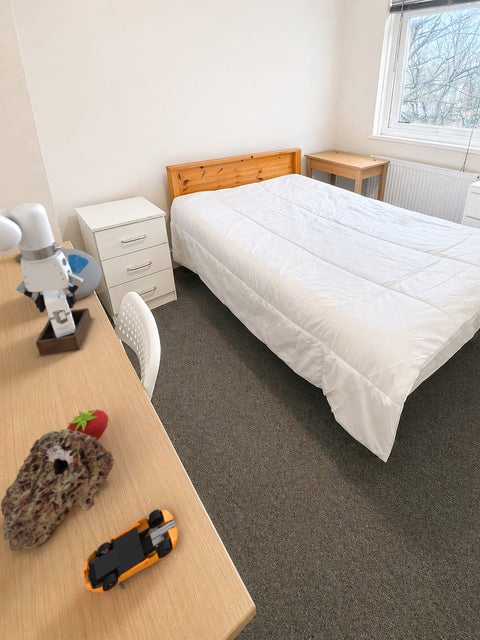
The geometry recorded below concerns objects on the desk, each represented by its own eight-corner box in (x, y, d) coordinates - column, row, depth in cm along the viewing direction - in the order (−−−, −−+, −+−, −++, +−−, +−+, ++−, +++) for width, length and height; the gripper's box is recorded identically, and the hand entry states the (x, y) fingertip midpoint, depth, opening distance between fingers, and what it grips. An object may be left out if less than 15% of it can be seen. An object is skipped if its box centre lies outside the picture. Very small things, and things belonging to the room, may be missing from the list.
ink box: (52, 323, 103) (41, 289, 98) (72, 316, 106) (62, 283, 101) (56, 338, 97) (44, 303, 92) (76, 332, 100) (66, 297, 95)
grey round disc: (28, 290, 110) (33, 284, 107) (49, 243, 121) (54, 236, 118) (90, 306, 121) (96, 301, 118) (104, 262, 132) (110, 256, 129)
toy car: (148, 604, 49) (150, 615, 50) (187, 511, 60) (188, 522, 61) (71, 583, 50) (75, 595, 52) (122, 496, 61) (125, 507, 63)
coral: (-26, 494, 61) (45, 539, 64) (-50, 534, 50) (36, 586, 53) (68, 401, 70) (125, 445, 73) (65, 418, 59) (133, 469, 62)
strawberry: (117, 443, 73) (107, 410, 69) (76, 466, 69) (62, 432, 65) (109, 423, 77) (99, 391, 73) (70, 444, 73) (57, 411, 69)
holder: (40, 355, 96) (35, 342, 94) (56, 324, 107) (52, 312, 105) (79, 349, 98) (75, 336, 96) (91, 320, 110) (88, 307, 108)
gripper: (80, 241, 96) (95, 296, 104) (6, 248, 92) (27, 304, 99) (73, 253, 90) (89, 310, 97) (-8, 261, 85) (16, 320, 93)
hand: (58, 307), depth 98 cm, fingers closed on ink box, 6 cm apart
